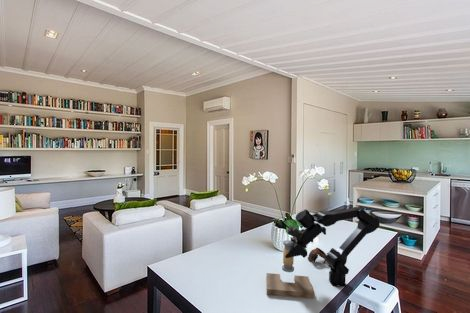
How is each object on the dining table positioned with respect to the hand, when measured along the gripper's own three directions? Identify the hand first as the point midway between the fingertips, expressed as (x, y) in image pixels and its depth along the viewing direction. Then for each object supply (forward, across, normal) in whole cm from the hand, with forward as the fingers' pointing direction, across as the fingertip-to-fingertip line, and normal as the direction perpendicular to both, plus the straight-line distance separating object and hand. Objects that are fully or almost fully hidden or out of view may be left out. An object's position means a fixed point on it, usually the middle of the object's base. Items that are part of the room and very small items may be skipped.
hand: (285, 255), depth 118 cm
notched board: (+9, +4, +10) cm, 14 cm away
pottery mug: (-4, -26, +24) cm, 36 cm away
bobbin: (+4, 0, +6) cm, 7 cm away
